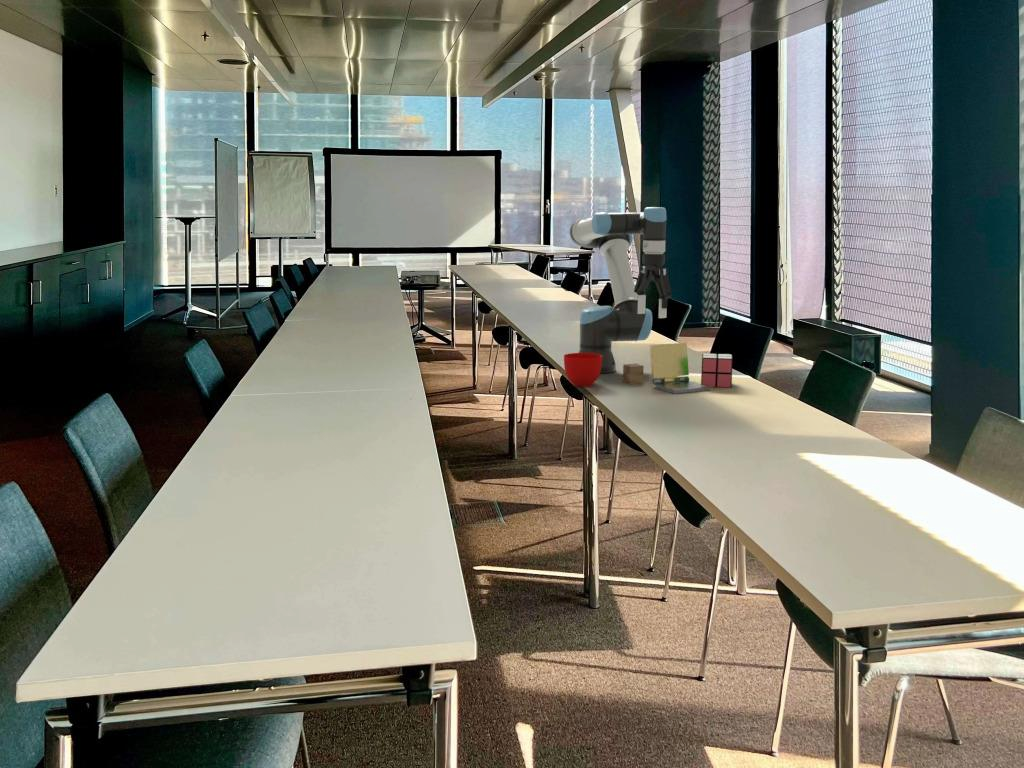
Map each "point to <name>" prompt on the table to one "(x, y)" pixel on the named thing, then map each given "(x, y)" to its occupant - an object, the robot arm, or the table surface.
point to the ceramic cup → (582, 368)
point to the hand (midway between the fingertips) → (651, 315)
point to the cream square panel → (669, 361)
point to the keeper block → (633, 373)
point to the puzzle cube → (717, 370)
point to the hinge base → (680, 386)
